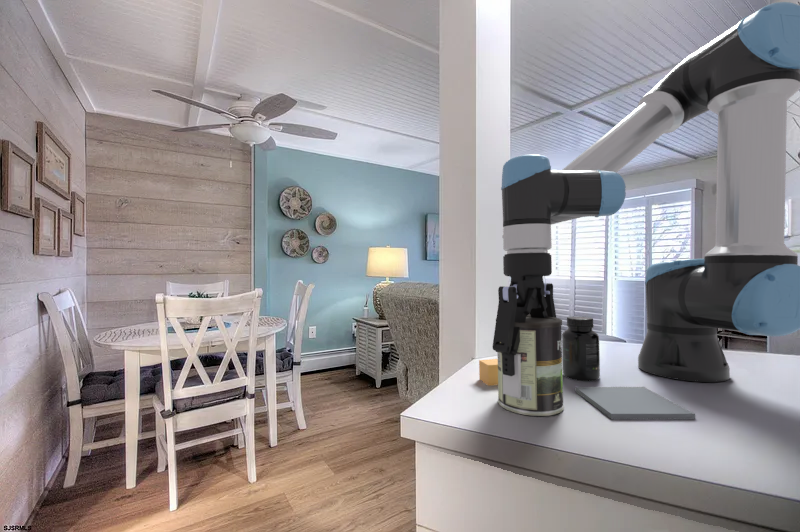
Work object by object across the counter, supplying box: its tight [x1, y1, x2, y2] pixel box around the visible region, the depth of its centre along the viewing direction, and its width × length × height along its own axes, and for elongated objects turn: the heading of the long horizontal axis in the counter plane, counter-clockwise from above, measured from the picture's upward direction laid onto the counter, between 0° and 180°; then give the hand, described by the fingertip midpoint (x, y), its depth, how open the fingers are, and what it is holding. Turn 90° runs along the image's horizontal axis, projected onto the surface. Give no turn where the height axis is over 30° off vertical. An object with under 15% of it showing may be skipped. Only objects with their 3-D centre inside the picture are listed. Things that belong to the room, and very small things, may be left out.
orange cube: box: [478, 358, 498, 387], centre depth 72 cm, size 4×4×4 cm
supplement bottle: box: [562, 315, 601, 382], centre depth 74 cm, size 7×7×12 cm
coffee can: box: [497, 314, 565, 417], centre depth 60 cm, size 10×10×14 cm
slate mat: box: [574, 386, 696, 420], centre depth 59 cm, size 12×12×1 cm
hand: (529, 387), depth 60 cm, fingers closed on coffee can, 10 cm apart
